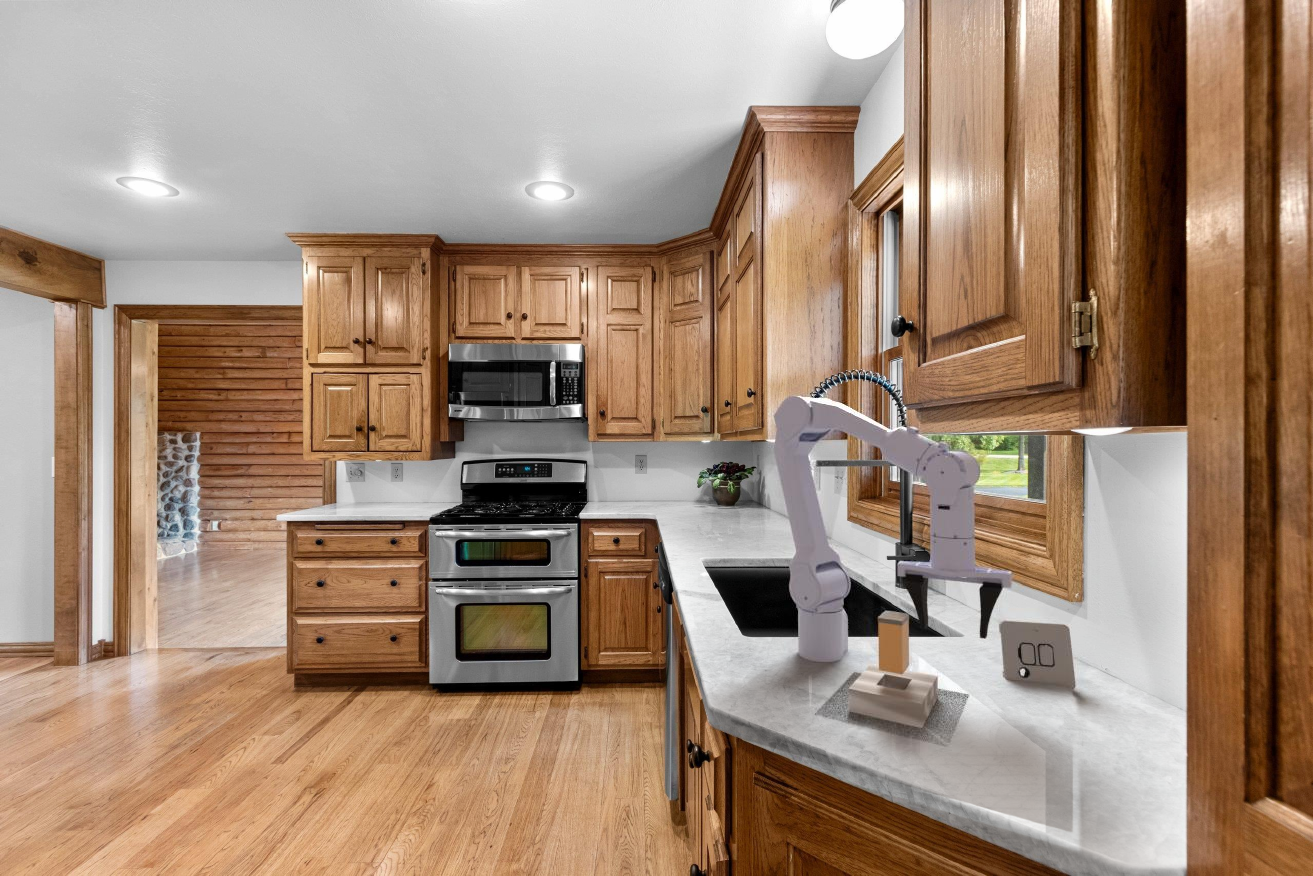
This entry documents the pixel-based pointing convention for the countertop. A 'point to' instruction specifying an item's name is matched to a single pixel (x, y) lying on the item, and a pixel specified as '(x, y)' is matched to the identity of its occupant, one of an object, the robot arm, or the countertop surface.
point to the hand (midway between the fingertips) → (953, 632)
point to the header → (895, 700)
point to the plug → (893, 642)
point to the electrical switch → (1037, 652)
